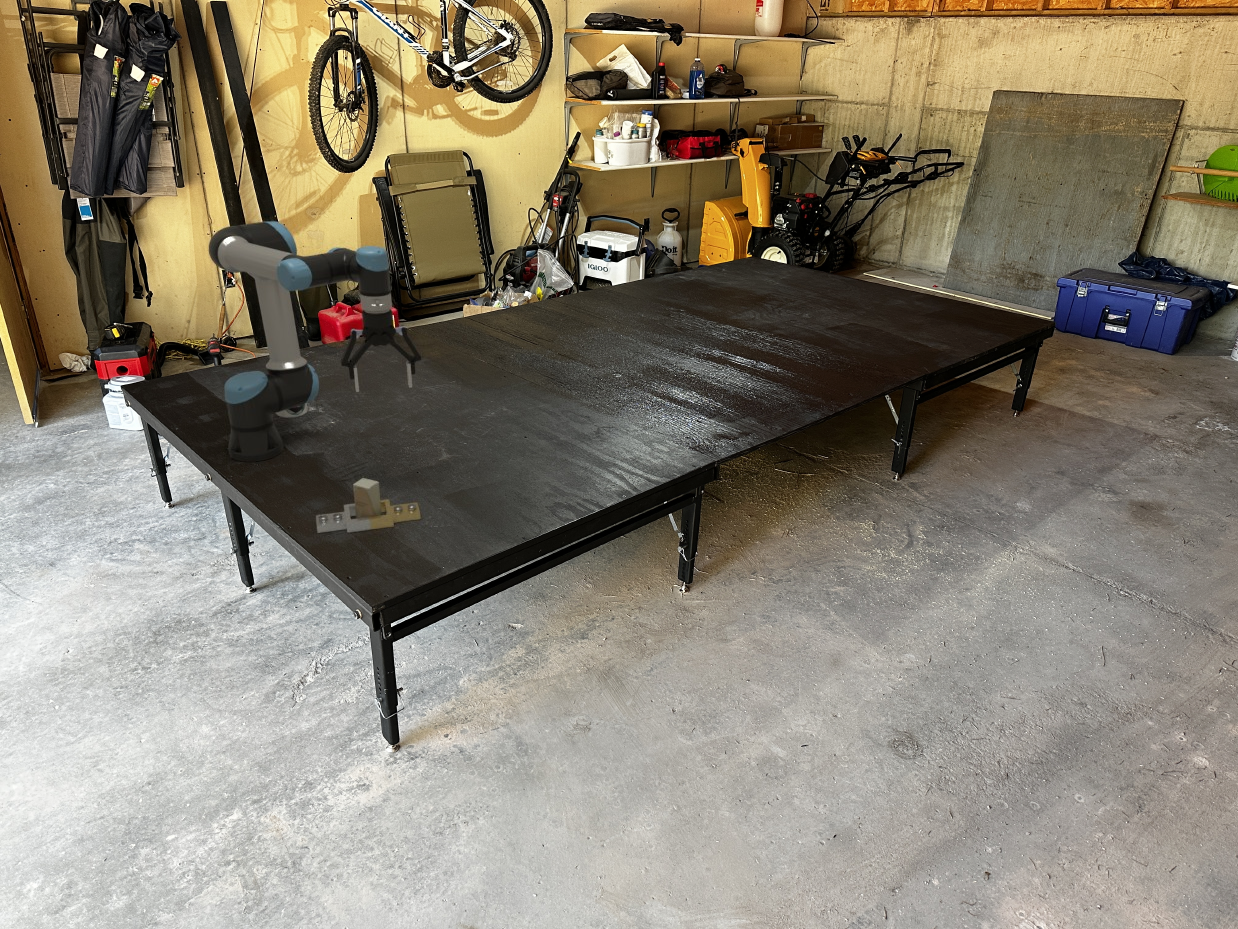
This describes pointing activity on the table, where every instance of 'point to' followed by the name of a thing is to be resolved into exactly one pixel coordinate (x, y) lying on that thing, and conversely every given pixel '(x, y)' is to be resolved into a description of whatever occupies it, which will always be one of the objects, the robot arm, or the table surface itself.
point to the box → (367, 498)
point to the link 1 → (342, 521)
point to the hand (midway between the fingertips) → (384, 388)
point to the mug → (293, 411)
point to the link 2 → (394, 514)
